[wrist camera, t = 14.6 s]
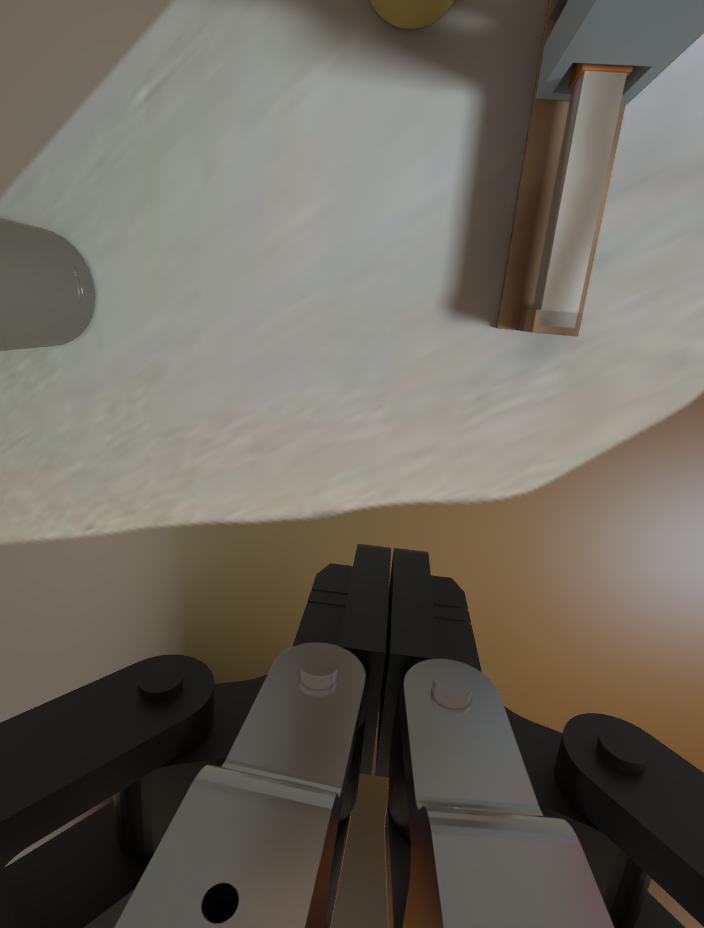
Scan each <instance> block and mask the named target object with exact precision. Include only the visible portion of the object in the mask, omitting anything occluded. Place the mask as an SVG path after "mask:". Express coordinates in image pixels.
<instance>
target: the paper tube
mask: <svg viewBox="0 0 704 928" xmlns="http://www.w3.org/2000/svg"><path fill="white" fill-rule="evenodd" d="M454 1H455V0H369V2H370V4H371V5H372V7H373V8H374V10H375V11H376V13H377V14H378V15H379V16H380V17H381V18H382V19H384V20H385V21H386V22H388V23H390V24H391V25H393V26H396V27H399V28H404V29H416V28H421V27H424V26H427V25H429V24H431V23H433V22H435V21H436V20H438V19H439V18H440V17H441V16H443V15H444V14H445V13H446V12H447V11H448V9H449V8H450V7H451V6H452V4H453V3H454Z"/></svg>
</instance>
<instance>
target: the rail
mask: <svg viewBox="0 0 704 928" xmlns="http://www.w3.org/2000/svg"><path fill="white" fill-rule="evenodd" d="M567 1H568V0H549V4H548V10H547V17H546V23H545V29H544V35H543V42H542V48H541V54H540V60H539V67H538V73H537V79H536V85H535V92H534V98H533V104H532V110H531V117H530V123H529V129H528V135H527V142H526V148H525V154H524V160H523V167H522V173H521V179H520V185H519V192H518V198H517V204H516V210H515V217H514V223H513V229H512V235H511V242H510V248H509V254H508V260H507V267H506V273H505V279H504V285H503V292H502V298H501V304H500V310H499V317H498V323H497V328H500V329H511V330H520V331H527V332H533V333H544V334H556V335H567V336H578V334H579V329H580V324H581V319H582V314H583V309H584V304H585V299H586V294H587V289H588V284H589V279H590V275H591V270H592V265H593V260H594V255H595V250H596V245H597V241H598V236H599V231H600V226H601V221H602V216H603V212H604V207H605V202H606V197H607V192H608V187H609V182H610V178H611V173H612V168H613V163H614V158H615V153H616V148H617V144H618V139H619V134H620V129H621V124H622V119H623V114H624V110H625V105H626V104H623V103H621V99H622V95H623V90H624V85H625V80H626V77H627V76H628V75H629V74H630V73H631V72H632V69H633V65H613V64H593V63H572V69H571V74H570V80H569V86H568V89H572V91H571V97H570V101H569V100H551V99H536V94H537V88H538V82H539V75H540V69H541V63H542V57H543V51H544V45H545V43H546V41H547V39H548V37H549V36H550V34H551V32H552V30H553V28H554V26H555V24H556V22H557V20H558V18H559V17H560V15H561V13H562V11H563V9H564V7H565V5H566V3H567Z"/></svg>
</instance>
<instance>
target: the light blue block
mask: <svg viewBox="0 0 704 928" xmlns="http://www.w3.org/2000/svg"><path fill="white" fill-rule="evenodd" d="M703 33H704V0H568V1H567V3H566V5H565V7H564V9H563V11H562V13H561V15H560V17H559V18H558V20H557V22H556V24H555V26H554V28H553V30H552V32H551V34H550V36H549V37H548V39H547V41H546V43H545V45H544V51H543V57H542V63H541V69H540V75H539V82H538V88H537V94H536V99H551V100H569V101H570V97H571V91H572V89H568V86H569V80H570V74H571V69H572V63H593V64H613V65H633V69H632V72H631V73H630V74H629V75H628V76H627V77H626V80H625V85H624V90H623V95H622V99H621V103H623V104H628V103H629V102H630V101H631V100H632V99H633V98H634V97H636V96H637V95H638V94H639V93H640V92H641V91H642V90H643V89H644V88H645V87H646V86H647V85H648V84H650V83H651V82H652V81H653V80H654V79H655V78H656V77H657V76H658V75H659V74H660V73H661V72H662V71H664V70H665V69H666V68H667V67H668V66H669V65H670V64H671V63H672V62H673V61H674V60H675V59H676V58H678V57H679V56H680V55H681V54H682V53H683V52H684V51H685V50H686V49H687V48H688V47H689V46H690V45H691V44H693V43H694V42H695V41H696V40H697V39H698V38H699V37H700V36H701V35H702V34H703Z"/></svg>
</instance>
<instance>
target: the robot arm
mask: <svg viewBox="0 0 704 928" xmlns="http://www.w3.org/2000/svg"><path fill="white" fill-rule="evenodd" d="M94 306H95V290H94V284H93V279H92V276H91V274H90V271H89V268H88V266H87V264H86V263H85V261H84V259H83V257H82V256H81V255H80V254H79V252H78V251H77V250H76V249H75V247H74V246H73V245H71V244H70V243H69V242H68V241H67V240H65V239H64V238H63V237H61V236H59V235H57V234H55V233H54V232H51V231H48V230H45V229H41V228H37V227H33V226H28V225H24V224H20V223H15V222H11V221H7V220H3V219H0V351H6V350H16V349H28V348H37V347H47V346H56V345H63V344H65V343H68V342H70V341H72V340H74V339H75V338H76V337H78V336H79V335H80V334H81V333H82V332H83V331H84V330H85V328H86V327H87V326H88V324H89V322H90V320H91V318H92V314H93V310H94ZM390 561H391V548H389V547H381V546H373V545H364V544H358V545H357V550H356V555H355V560H354V565H353V566H348V565H339V564H329V565H328V566H327V567H325V568H324V569H323V570H322V571H320V572H319V573H318V574H317V575H316V578H315V581H314V584H313V587H312V591H311V593H310V596H309V599H308V603H307V605H306V608H305V611H304V614H303V617H302V620H301V623H300V626H299V629H298V632H297V635H296V638H295V641H294V644H293V647H291V648H289V649H288V650H286V651H284V652H283V653H282V654H280V655H279V657H277V659H276V660H275V661H274V663H273V665H272V667H271V669H270V671H269V673H268V674H267V675H264V676H261V677H259V678H255V679H251V680H246V681H240V682H230V683H221V684H214V678H213V675H212V672H211V671H210V669H209V668H208V666H206V665H205V664H204V663H203V662H201V661H199V660H197V659H195V658H192V657H189V656H184V655H161V656H156V657H152V658H148V659H145V660H142V661H140V662H137V663H135V664H133V665H130V666H128V667H126V668H124V669H121V670H119V671H117V672H114V673H112V674H110V675H108V676H105V677H103V678H101V679H99V680H96V681H94V682H92V683H90V684H88V685H85V686H83V687H81V688H78V689H76V690H74V691H71V692H69V693H67V694H65V695H62V696H60V697H58V698H56V699H53V700H51V701H49V702H46V703H44V704H42V705H40V706H37V707H35V708H33V709H31V710H28V711H26V712H24V713H22V714H19V715H17V716H15V717H12V718H10V719H8V720H6V721H4V722H1V723H0V928H330V927H331V921H332V916H333V911H334V905H335V900H336V895H337V889H338V884H339V879H340V873H341V868H342V862H343V857H344V852H345V846H346V841H347V836H348V830H349V825H350V816H351V811H352V809H353V808H354V805H355V803H356V799H357V793H358V784H359V775H360V773H362V774H369V775H371V770H372V761H373V753H374V744H375V736H376V728H377V720H378V711H379V720H378V721H379V722H378V737H377V753H376V768H375V769H376V770H375V775H377V776H384V777H389V790H388V792H389V793H388V803H387V810H386V818H385V852H386V853H385V854H386V880H387V904H388V928H685V927H684V926H683V925H682V924H681V923H680V922H679V921H678V920H677V919H676V918H675V917H674V916H673V915H672V914H670V913H669V912H668V911H667V910H666V909H665V908H664V907H663V906H662V905H661V904H660V903H659V902H658V901H657V900H656V899H655V898H654V897H653V896H651V894H650V893H649V892H648V888H649V885H650V882H651V880H652V879H653V880H654V881H655V882H656V883H657V884H658V885H659V886H661V887H662V888H663V889H664V890H665V891H666V892H667V893H668V894H669V895H670V896H671V897H672V898H674V900H676V901H677V902H678V903H679V904H680V905H681V906H682V907H683V908H684V909H685V910H686V911H687V912H688V913H689V914H690V915H692V916H693V917H694V918H695V919H696V920H697V921H698V922H699V923H700V924H701V925H702V926H703V927H704V773H703V772H702V771H700V770H699V769H697V768H696V767H695V766H693V765H692V764H690V763H689V762H688V761H686V760H685V759H683V758H682V757H681V756H679V755H678V754H676V753H675V752H674V751H672V750H671V749H669V748H668V747H667V746H665V745H664V744H662V743H661V742H660V741H658V740H657V739H655V738H654V737H653V736H651V735H650V734H648V733H647V732H645V731H644V730H642V729H641V728H639V727H637V726H635V725H633V724H631V723H629V722H626V721H624V720H622V719H619V718H616V717H613V716H609V715H604V714H595V713H587V714H581V715H578V716H575V717H573V718H572V719H570V720H569V721H568V722H567V724H566V725H565V727H564V730H563V733H561V732H558V731H555V730H553V729H550V728H548V727H545V726H542V725H540V724H537V723H534V722H532V721H529V720H527V719H525V718H523V717H521V716H519V715H517V714H515V713H513V712H512V711H510V710H509V709H508V708H506V707H505V706H504V705H503V702H502V700H501V697H500V694H499V692H498V690H497V688H496V686H495V685H494V684H493V682H492V681H491V680H490V679H489V678H488V677H486V676H485V675H484V674H483V673H482V671H481V667H480V662H479V658H478V653H477V648H476V644H475V639H474V634H473V630H472V625H471V620H470V616H469V612H468V606H467V602H466V597H465V593H464V591H463V590H462V589H461V588H460V587H459V586H458V585H457V584H456V582H455V581H454V580H453V579H452V578H448V577H439V576H431V575H430V565H429V555H428V552H424V551H415V550H407V549H399V548H394V552H393V559H392V567H391V576H390ZM389 579H390V584H389ZM379 703H380V704H379ZM111 796H113V798H114V801H112V802H111V803H109V804H107V805H106V806H104V807H103V808H101V809H99V810H98V811H96V812H94V813H93V814H91V815H90V816H88V817H86V818H85V819H83V820H81V821H80V822H78V823H77V824H75V825H73V826H72V827H70V828H68V829H67V830H65V831H64V832H62V833H60V834H59V835H57V836H56V837H54V838H52V839H51V840H49V841H47V842H46V843H44V844H43V845H41V846H40V847H38V848H36V849H34V850H33V851H31V852H29V853H28V854H26V855H25V856H23V857H21V858H20V859H18V860H17V861H15V862H13V863H12V864H10V865H8V866H6V864H8V863H9V862H10V861H11V860H12V859H13V858H14V857H15V856H16V855H17V854H19V853H20V852H21V851H23V850H24V849H26V848H27V847H29V846H30V845H32V844H34V843H35V842H37V841H39V840H40V839H42V838H43V837H45V836H47V835H49V834H50V833H52V832H53V831H55V830H57V829H58V828H60V827H62V826H63V825H65V824H67V823H68V822H70V821H71V820H73V819H75V818H76V817H78V816H80V815H81V814H83V813H85V812H86V811H88V810H90V809H91V808H93V807H95V806H96V805H98V804H99V803H101V802H103V801H105V800H106V799H108V798H109V797H111ZM5 866H6V867H5ZM4 867H5V868H4Z"/></svg>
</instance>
